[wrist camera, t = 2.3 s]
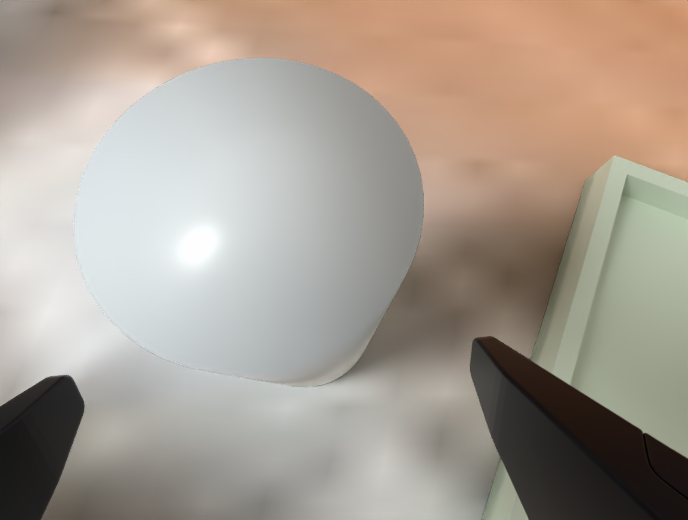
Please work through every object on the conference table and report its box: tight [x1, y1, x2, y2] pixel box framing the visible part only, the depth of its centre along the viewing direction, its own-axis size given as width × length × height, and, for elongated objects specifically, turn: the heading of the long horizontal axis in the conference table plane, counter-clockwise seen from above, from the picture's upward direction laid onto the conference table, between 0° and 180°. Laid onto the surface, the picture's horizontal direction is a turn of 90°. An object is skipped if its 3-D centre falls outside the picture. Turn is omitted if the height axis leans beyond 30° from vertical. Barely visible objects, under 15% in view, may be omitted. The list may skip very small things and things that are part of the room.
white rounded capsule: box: [74, 58, 424, 387], centre depth 14 cm, size 6×6×13 cm
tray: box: [482, 155, 688, 520], centre depth 17 cm, size 20×12×2 cm, turn 155°
